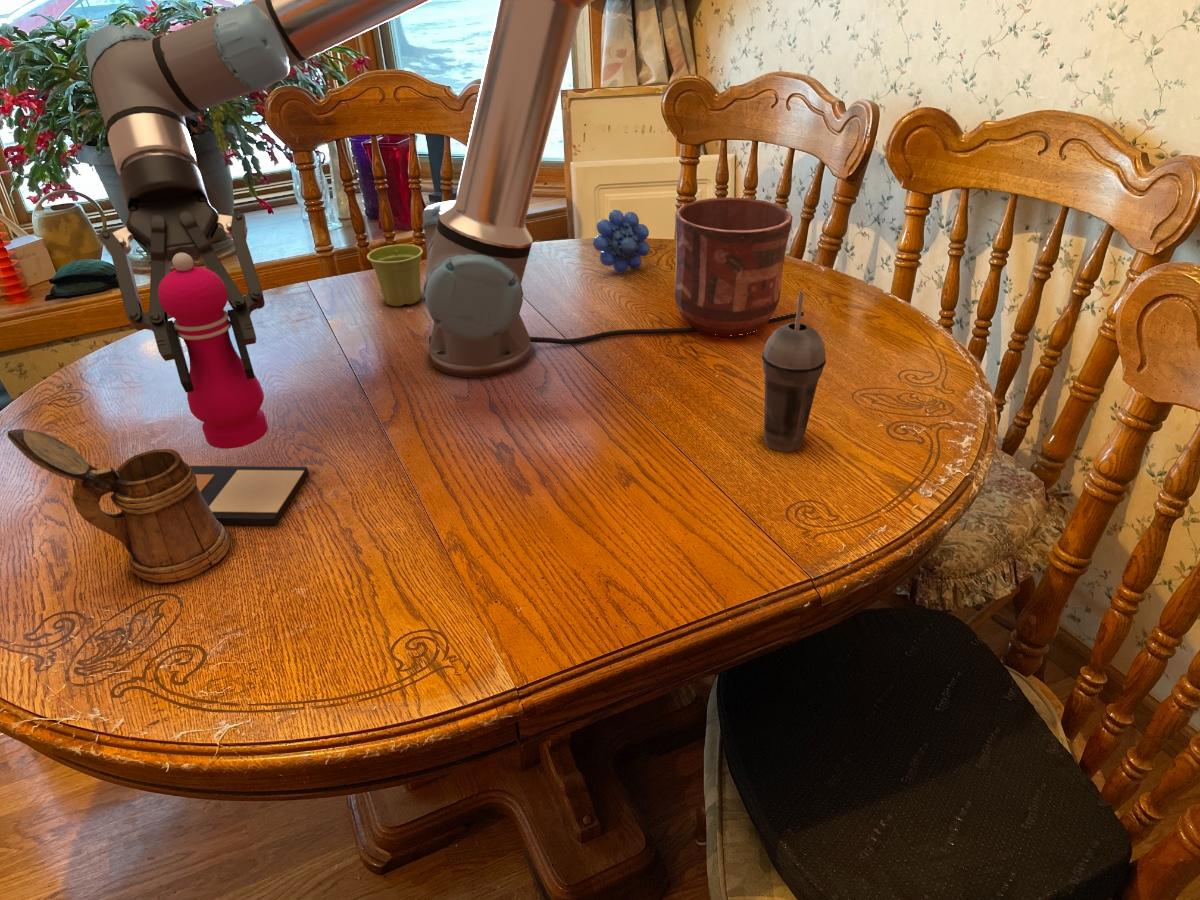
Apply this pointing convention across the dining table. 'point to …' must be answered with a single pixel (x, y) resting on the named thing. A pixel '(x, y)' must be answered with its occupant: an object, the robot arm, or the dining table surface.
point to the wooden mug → (139, 506)
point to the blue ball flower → (621, 241)
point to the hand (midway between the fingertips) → (219, 380)
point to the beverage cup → (790, 381)
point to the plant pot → (398, 272)
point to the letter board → (248, 492)
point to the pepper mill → (212, 356)
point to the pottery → (729, 264)
